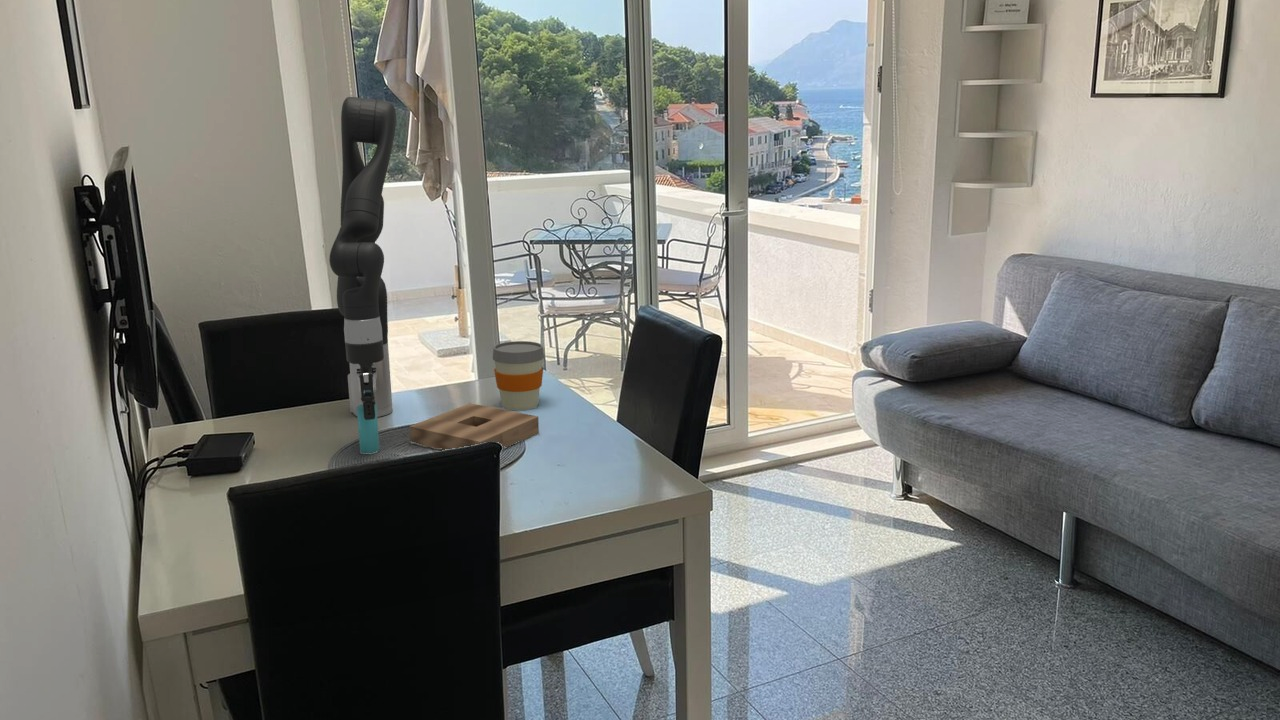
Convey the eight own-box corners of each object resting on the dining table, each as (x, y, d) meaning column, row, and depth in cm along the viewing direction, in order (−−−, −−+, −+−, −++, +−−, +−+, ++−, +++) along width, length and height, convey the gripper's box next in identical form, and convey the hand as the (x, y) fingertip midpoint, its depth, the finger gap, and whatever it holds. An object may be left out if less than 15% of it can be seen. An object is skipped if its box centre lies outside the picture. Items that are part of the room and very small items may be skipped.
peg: (356, 452, 197) (352, 407, 194) (370, 447, 200) (367, 402, 198) (369, 455, 195) (366, 410, 192) (383, 450, 198) (380, 405, 196)
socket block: (410, 443, 202) (409, 426, 201) (470, 419, 219) (470, 403, 218) (481, 460, 192) (480, 441, 191) (538, 433, 209) (538, 416, 208)
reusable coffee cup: (525, 395, 238) (524, 338, 235) (555, 405, 230) (554, 347, 226) (484, 404, 230) (482, 346, 227) (513, 416, 221) (511, 355, 218)
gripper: (382, 344, 186) (388, 421, 190) (382, 330, 199) (388, 403, 203) (343, 347, 184) (350, 424, 188) (346, 333, 197) (352, 406, 201)
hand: (370, 413), depth 195 cm, fingers open, 8 cm apart
